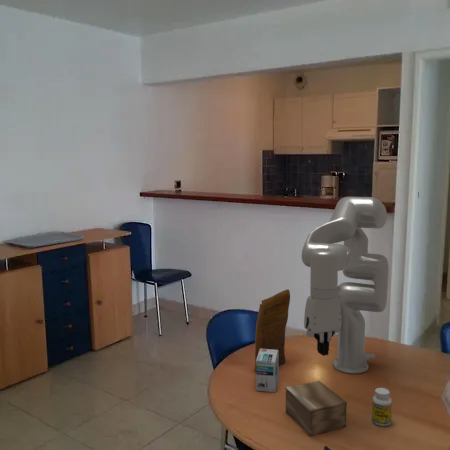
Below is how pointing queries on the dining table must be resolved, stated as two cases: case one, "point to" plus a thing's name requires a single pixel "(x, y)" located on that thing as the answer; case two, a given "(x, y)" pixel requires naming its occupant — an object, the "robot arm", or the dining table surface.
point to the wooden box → (316, 416)
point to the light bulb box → (267, 370)
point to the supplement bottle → (382, 407)
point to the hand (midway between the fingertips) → (323, 353)
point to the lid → (315, 396)
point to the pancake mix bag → (272, 324)
